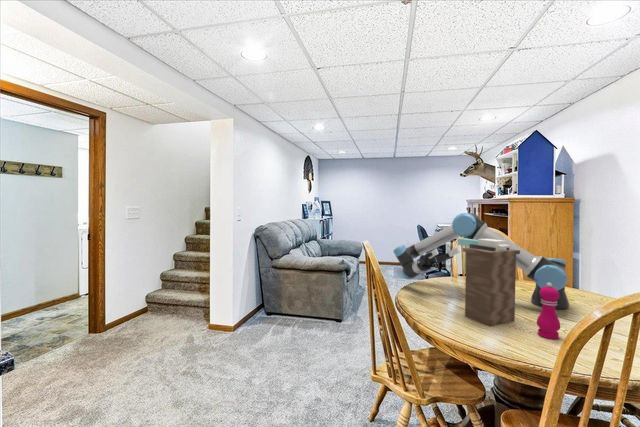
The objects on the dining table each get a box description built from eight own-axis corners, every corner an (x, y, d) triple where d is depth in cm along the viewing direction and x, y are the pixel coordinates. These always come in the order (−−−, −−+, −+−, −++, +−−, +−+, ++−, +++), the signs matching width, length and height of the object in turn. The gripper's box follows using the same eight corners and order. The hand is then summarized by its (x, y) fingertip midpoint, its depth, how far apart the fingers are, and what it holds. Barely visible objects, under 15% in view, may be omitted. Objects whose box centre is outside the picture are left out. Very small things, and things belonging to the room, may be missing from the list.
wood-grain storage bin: (489, 311, 146) (490, 243, 145) (518, 321, 133) (520, 246, 132) (461, 316, 139) (462, 244, 138) (489, 327, 126) (491, 248, 125)
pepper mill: (534, 336, 118) (536, 282, 118) (538, 330, 124) (539, 279, 123) (558, 341, 113) (560, 286, 113) (561, 335, 119) (562, 282, 118)
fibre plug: (465, 244, 151) (465, 236, 151) (510, 251, 130) (511, 241, 130) (456, 245, 149) (456, 236, 149) (500, 251, 127) (500, 241, 127)
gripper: (442, 269, 178) (469, 256, 161) (405, 273, 168) (430, 259, 151) (437, 257, 181) (463, 242, 164) (401, 260, 172) (425, 244, 154)
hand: (447, 250), depth 157 cm, fingers open, 13 cm apart
